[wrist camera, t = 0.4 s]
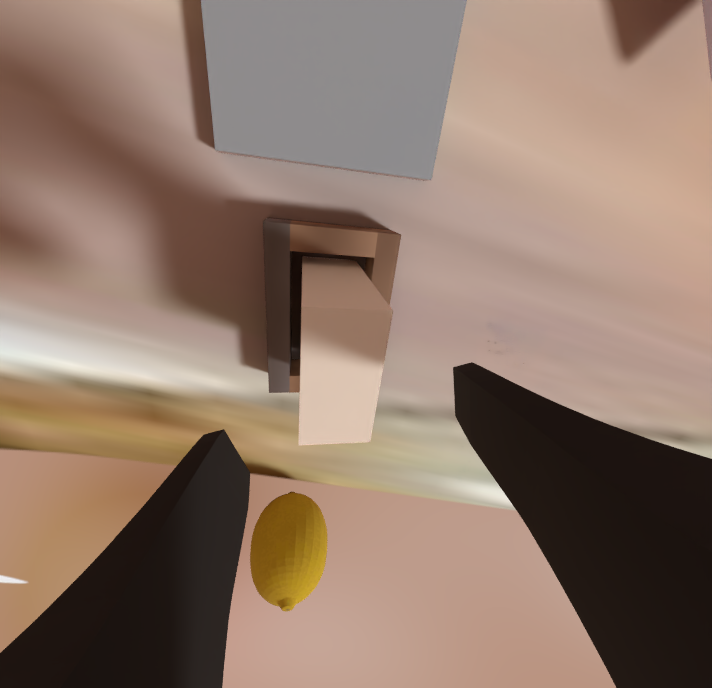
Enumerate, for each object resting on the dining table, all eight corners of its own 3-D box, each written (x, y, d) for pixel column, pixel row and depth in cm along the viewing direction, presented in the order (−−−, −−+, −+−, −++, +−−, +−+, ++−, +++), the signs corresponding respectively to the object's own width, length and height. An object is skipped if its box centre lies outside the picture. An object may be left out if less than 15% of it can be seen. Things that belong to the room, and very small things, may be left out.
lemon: (256, 514, 26) (239, 635, 19) (260, 471, 23) (242, 591, 16) (319, 512, 27) (324, 625, 20) (328, 471, 24) (338, 583, 18)
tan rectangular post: (355, 260, 17) (393, 310, 10) (345, 351, 19) (370, 441, 12) (302, 256, 16) (302, 306, 9) (300, 350, 19) (298, 445, 12)
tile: (186, -236, 9) (173, -284, 8) (481, -128, 11) (497, -156, 10) (221, 152, 13) (215, 150, 12) (423, 180, 15) (431, 179, 14)
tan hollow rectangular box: (390, 230, 16) (401, 234, 14) (368, 374, 20) (374, 391, 19) (267, 217, 15) (263, 221, 13) (272, 374, 19) (269, 392, 17)
